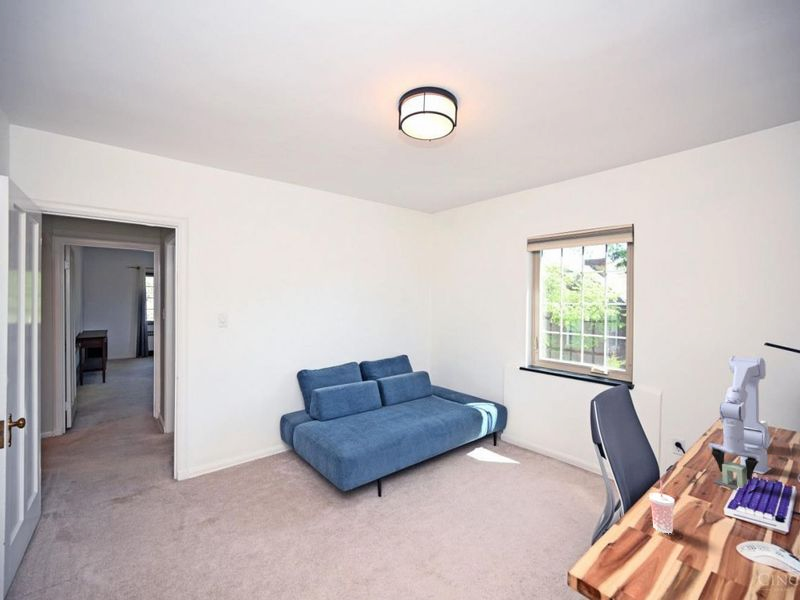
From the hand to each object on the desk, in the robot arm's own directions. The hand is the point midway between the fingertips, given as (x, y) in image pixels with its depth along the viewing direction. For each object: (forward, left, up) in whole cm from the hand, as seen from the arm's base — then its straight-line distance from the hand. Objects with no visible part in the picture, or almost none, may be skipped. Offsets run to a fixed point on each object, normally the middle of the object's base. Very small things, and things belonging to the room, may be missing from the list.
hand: (735, 474), depth 136 cm
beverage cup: (+52, 0, -4) cm, 52 cm away
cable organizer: (-52, -12, -4) cm, 53 cm away
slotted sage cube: (0, 0, -3) cm, 3 cm away
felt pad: (0, 0, -3) cm, 3 cm away
